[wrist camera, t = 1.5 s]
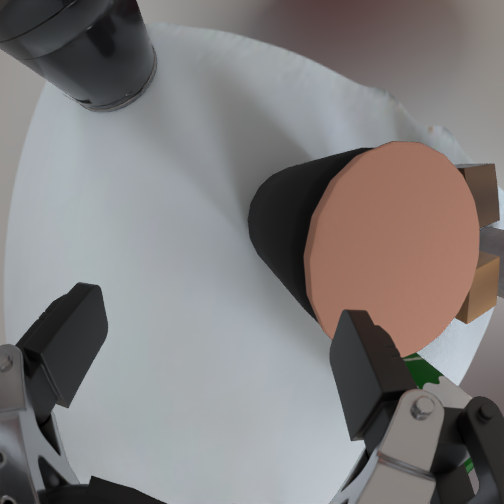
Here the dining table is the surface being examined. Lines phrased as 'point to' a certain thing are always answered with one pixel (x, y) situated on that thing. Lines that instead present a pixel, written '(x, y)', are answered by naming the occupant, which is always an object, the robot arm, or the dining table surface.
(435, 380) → the milk carton
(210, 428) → the dining table surface
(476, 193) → the walnut block
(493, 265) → the oak block
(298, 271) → the coffee jar
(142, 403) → the dining table surface
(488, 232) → the pillar candle
